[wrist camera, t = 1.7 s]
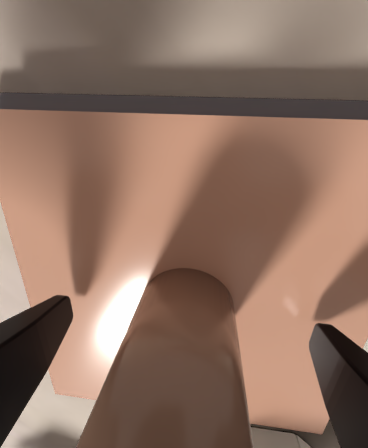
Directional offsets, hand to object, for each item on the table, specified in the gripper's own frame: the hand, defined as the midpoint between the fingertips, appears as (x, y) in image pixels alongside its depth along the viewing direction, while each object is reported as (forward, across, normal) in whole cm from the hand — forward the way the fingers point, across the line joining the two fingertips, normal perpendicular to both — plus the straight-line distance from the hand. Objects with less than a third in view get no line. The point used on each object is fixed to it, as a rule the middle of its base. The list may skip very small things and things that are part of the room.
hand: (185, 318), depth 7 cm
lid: (+1, 0, 0) cm, 1 cm away
